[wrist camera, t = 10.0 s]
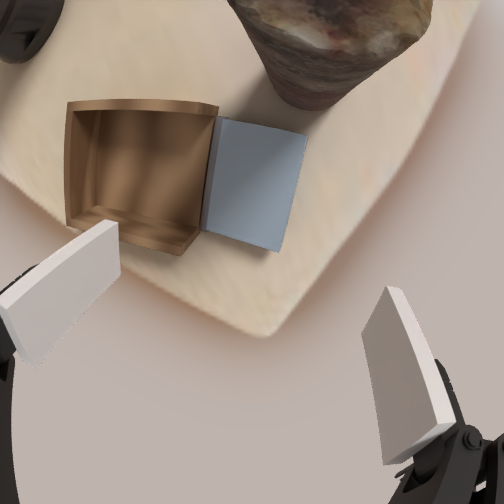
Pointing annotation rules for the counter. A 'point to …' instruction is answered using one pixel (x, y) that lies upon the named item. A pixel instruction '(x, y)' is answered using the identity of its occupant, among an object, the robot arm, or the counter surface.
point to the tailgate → (251, 182)
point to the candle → (329, 42)
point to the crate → (138, 168)
